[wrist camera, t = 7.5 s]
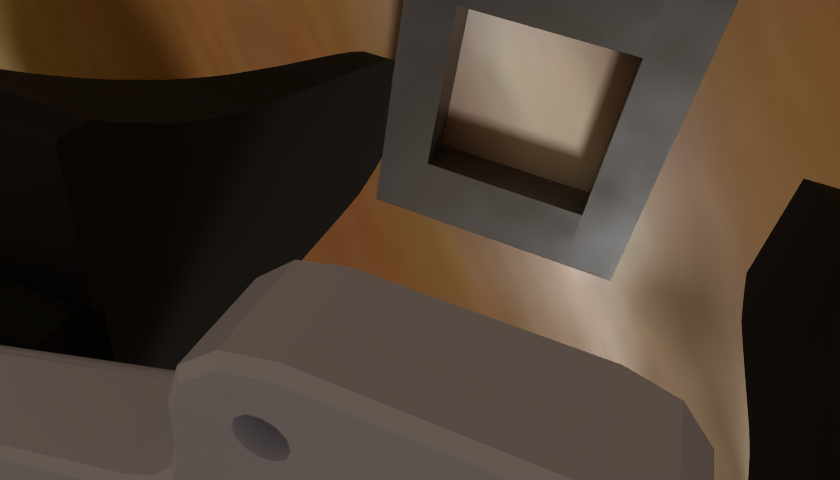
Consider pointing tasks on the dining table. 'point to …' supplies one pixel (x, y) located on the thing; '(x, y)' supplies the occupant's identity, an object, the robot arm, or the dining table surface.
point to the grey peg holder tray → (524, 193)
